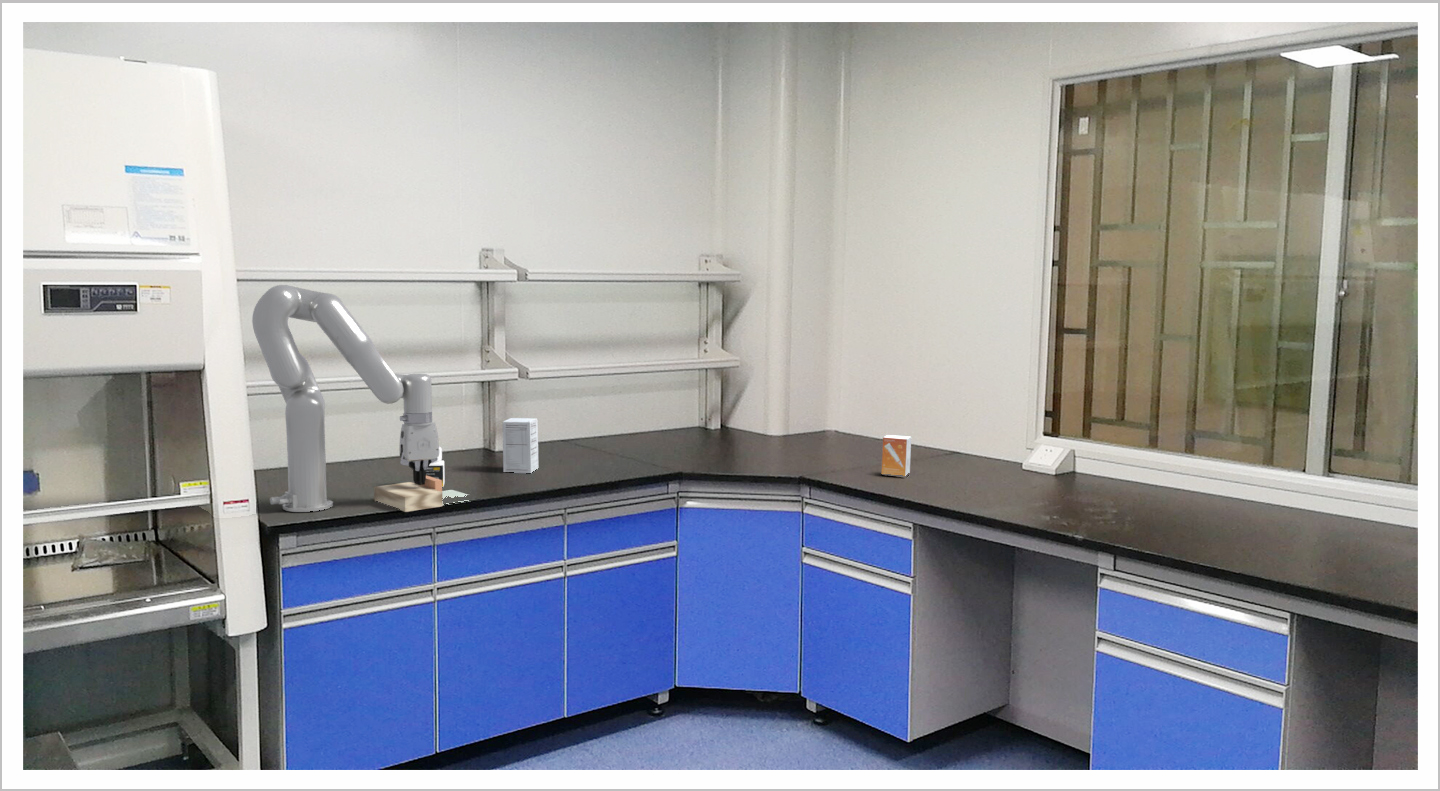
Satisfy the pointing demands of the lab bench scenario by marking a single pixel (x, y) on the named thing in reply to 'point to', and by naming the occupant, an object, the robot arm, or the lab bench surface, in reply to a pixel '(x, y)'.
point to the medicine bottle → (437, 468)
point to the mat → (453, 494)
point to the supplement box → (520, 445)
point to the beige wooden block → (408, 496)
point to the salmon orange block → (433, 483)
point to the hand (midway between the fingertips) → (419, 483)
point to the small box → (896, 455)
